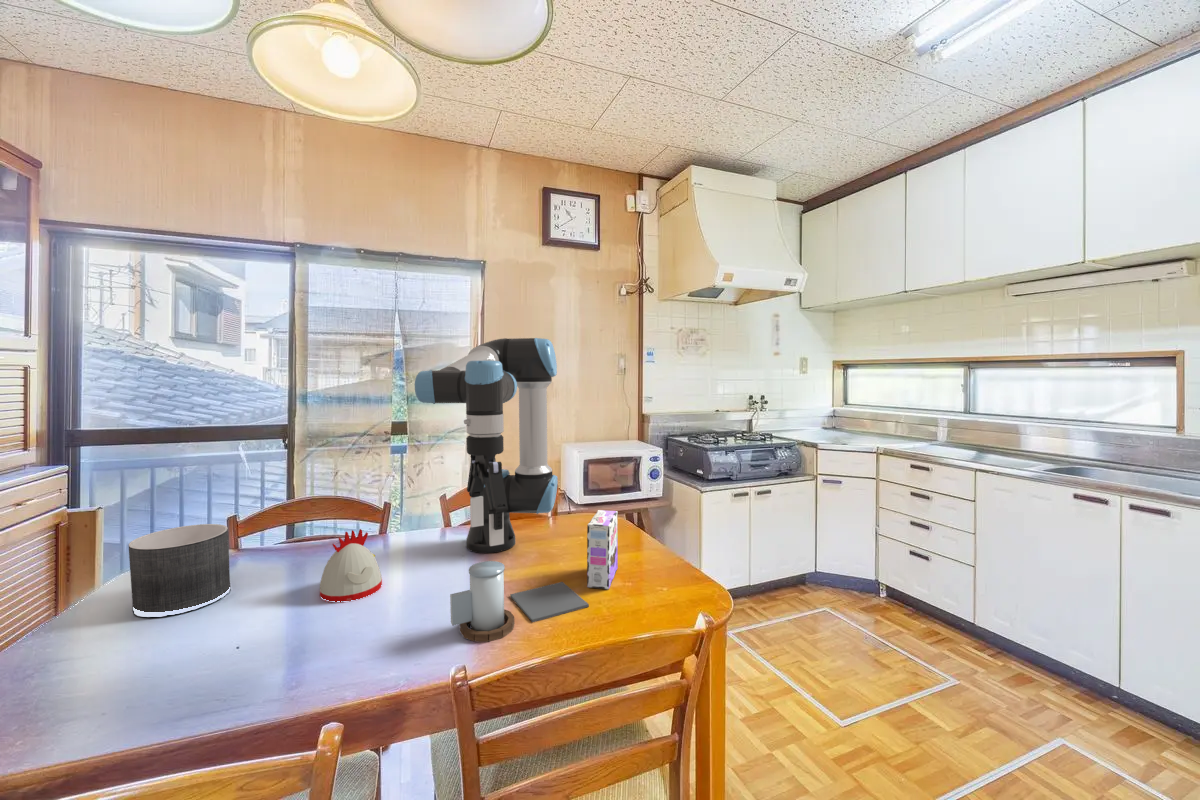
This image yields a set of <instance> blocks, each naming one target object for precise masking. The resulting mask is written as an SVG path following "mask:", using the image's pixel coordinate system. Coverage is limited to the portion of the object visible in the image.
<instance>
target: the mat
mask: <svg viewBox="0 0 1200 800" xmlns="http://www.w3.org/2000/svg"><path fill="white" fill-rule="evenodd" d="M509 595H510V596H509V597H510V599H512V601H513V602H514V603H515V604H516V605H517V606H518V607H519V609H520V610H521V611H522V612H523V613H524V615H525V616H526V617H527V618H528V619H529V620H530V621H531V623H535V622H539V621H542V620H546V619H550V618H553V617H557V616H560V615H564V614H567V613H571V612H575V611H579V610H582V609H585V608H589V605H590V604H589V603H588V602H587V601H586V600H584V599H583V598H582V597H581V596H580V595H579V594H577V593H576V592H575V591H574V590H573V589H572V588H570V587H569V586H568V585H567V584H565V582H564V581H560V582H556V583H555V582H554V583H551V584H548V585H544V586H539V587H535V588H530V589H526V590H523V591H519V592H515V593H510V594H509Z"/></svg>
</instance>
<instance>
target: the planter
mask: <svg viewBox="0 0 1200 800" xmlns="http://www.w3.org/2000/svg"><path fill="white" fill-rule="evenodd" d="M229 546H230V545H229V528H228V526H226V525H224V524H220V523H219V524H217V523H203V524H193V525H192V524H191V525H183V526H178V527H172V528H168V529H167V528H166V529H162V530H158V531H154V532H150V533H148V534H145V535H142V536H139V537H137V538H134V539H133V540H132V541H130V542H129V543H128V558H129V573H130V584H131V585H130V587H131V602H132V607H134V608H135V609H137V610H140V611H144V612H165V611H173V610H179V609H183V608H188V607H192V606H196V605H199V604H202V603H205V602H208V601H210V600H213V599H215V598H217V597H218V596H220V595H222V594H223V593H225V592H226V591H227V590H228V589H229V587H231V580H230V579H231V576H230V573H231V572H230V549H229V548H230V547H229Z"/></svg>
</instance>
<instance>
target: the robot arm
mask: <svg viewBox="0 0 1200 800" xmlns="http://www.w3.org/2000/svg"><path fill="white" fill-rule="evenodd" d="M557 369H558V365H557V358H556V352H555V348H554V345H553V342H552V341H551V340H550V339H548V338H541V337H539V338H538V337H530V338H529V337H528V338H527V337H526V338H525V337H524V338H523V337H522V338H521V337H520V338H517V337H516V338H505V337H504V338H497V339H492V340H489V341H487V342H485V343H482V344H480V345H477V346H475V347H473V348H472V349H471V350H470V351H469V352H468V353H467V355H465V356H464V357H462V358H460V359H457V360H456V361H454V362H453V363H451V364H449V365H447V366H445V367H442V368H441V369H438V370H433V369H429V370H422V371H419V372H418V373H417V374H416V377H415V379H414V394H415V396H416V398H417V400H418V401H420V403H423V404H425V403H426V404H433V405H435V404H465V408H466V409H465V414H466V417H465V418H466V419H464V420H463V424H464V425H466V433H467V434H468V436H467V437H466V453H467V454H468V455H469V456H470V464H469V472H468V477H467V479H468V480H467V488H466V491H467V493H468V495H469V498H470V499H469V500H470V501H469V502H470V503H469V504H470V505H469V506H470V507H469V508H470V511H469V512H470V526H469V530H468V533H467V536H466V543H465V544H466V545H465V547H466V549H467V550H468V551H470V552H474V553H480V554H492V553H499V552H504V551H506V550H509V549H512V548H513V547H514V546H515V545H516V534H515V530H514V528H513V525H512V523H511V519H510V517H511V516H510V514H536V515H538V514H548V513H550V512H551V511H552V510H553V508H554V505H555V502H556V499H557V491H558V480H559V479H558V476H557V475H555V474H553V468H552V467H551V466H550V465H549V463H548V397H547V396H548V395H547V394H548V391H547V390H548V387H549V386H550V385H551V384H552V383H553V382H552V378H554V377H556V376H557V373H558V371H557ZM517 390H518V420H519V421H518V432H519V433H518V435H519V436H518V438H519V443H518V444H519V447H518V448H519V465H518V466H517V468H515V470H514V474H511V473H510V471H509V469H505V468H504V469H503V464H502V461H496V456H497V455H500V454H502V453H503V452H504V451H505V450H504V436H503V435H502V434H503V432H504V431H505V429H504V424H505V422H504V404H505V403H507V402H509V401H511V400H512V399H513V398H514V397H515V395H516V394H517Z"/></svg>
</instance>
